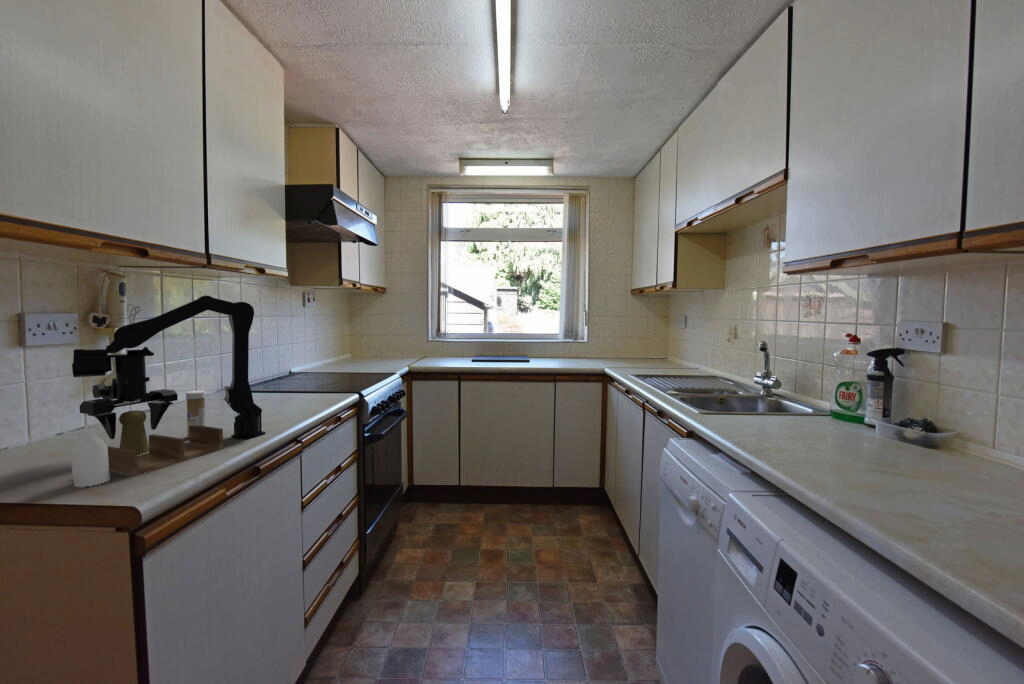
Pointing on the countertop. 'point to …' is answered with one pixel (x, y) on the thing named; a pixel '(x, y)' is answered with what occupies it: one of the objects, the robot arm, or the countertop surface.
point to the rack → (165, 451)
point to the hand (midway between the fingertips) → (133, 434)
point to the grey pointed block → (89, 460)
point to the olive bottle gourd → (133, 432)
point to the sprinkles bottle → (195, 409)
